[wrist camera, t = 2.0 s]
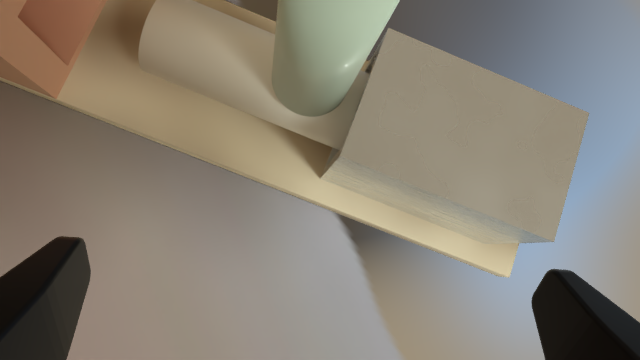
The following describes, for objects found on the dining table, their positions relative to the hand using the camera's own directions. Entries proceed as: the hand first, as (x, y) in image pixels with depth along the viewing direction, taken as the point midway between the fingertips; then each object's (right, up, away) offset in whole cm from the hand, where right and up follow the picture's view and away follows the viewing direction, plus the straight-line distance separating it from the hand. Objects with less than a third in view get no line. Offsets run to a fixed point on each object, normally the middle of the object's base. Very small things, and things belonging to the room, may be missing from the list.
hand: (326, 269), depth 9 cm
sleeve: (+4, +2, +13) cm, 14 cm away
